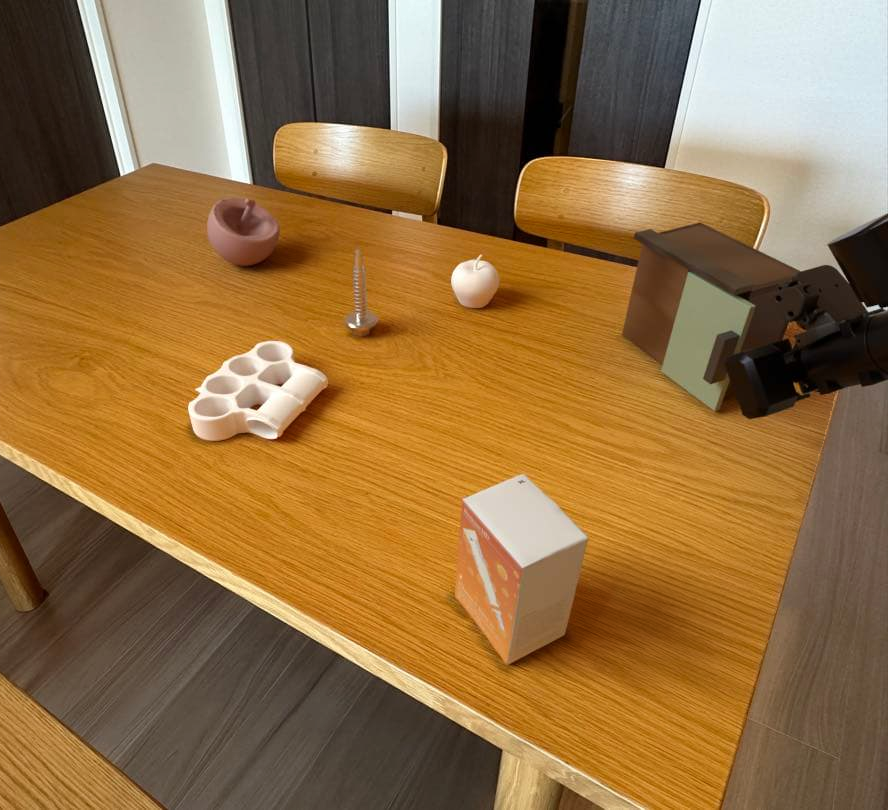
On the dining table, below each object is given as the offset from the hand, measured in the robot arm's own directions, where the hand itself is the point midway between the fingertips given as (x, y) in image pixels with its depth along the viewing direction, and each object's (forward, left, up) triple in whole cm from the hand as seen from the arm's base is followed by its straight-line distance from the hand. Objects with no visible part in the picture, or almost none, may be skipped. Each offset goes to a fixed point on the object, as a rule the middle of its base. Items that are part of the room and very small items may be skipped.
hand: (749, 379), depth 74 cm
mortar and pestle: (+73, -28, -8) cm, 79 cm away
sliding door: (+5, -6, -7) cm, 11 cm away
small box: (+20, +31, -8) cm, 38 cm away
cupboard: (+4, -14, -8) cm, 17 cm away
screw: (+47, -11, -8) cm, 49 cm away
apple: (+33, -23, -8) cm, 41 cm away
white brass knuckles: (+55, +8, -8) cm, 56 cm away
